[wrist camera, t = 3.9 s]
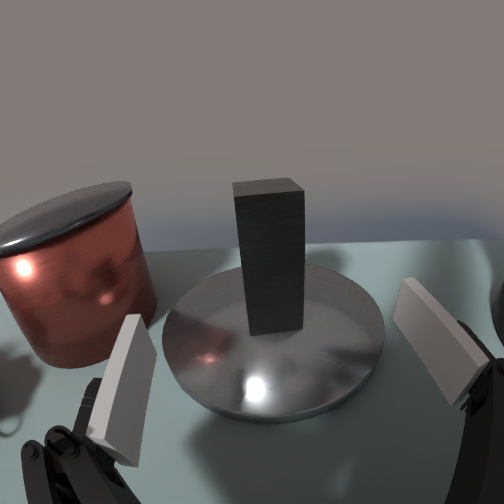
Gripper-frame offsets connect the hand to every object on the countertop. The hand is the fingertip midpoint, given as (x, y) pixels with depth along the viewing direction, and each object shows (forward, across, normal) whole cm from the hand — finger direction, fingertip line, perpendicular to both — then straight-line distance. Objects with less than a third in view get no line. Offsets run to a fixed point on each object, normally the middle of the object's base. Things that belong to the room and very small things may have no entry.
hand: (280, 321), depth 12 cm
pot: (+11, -23, -7) cm, 27 cm away
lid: (+7, 0, -7) cm, 10 cm away
